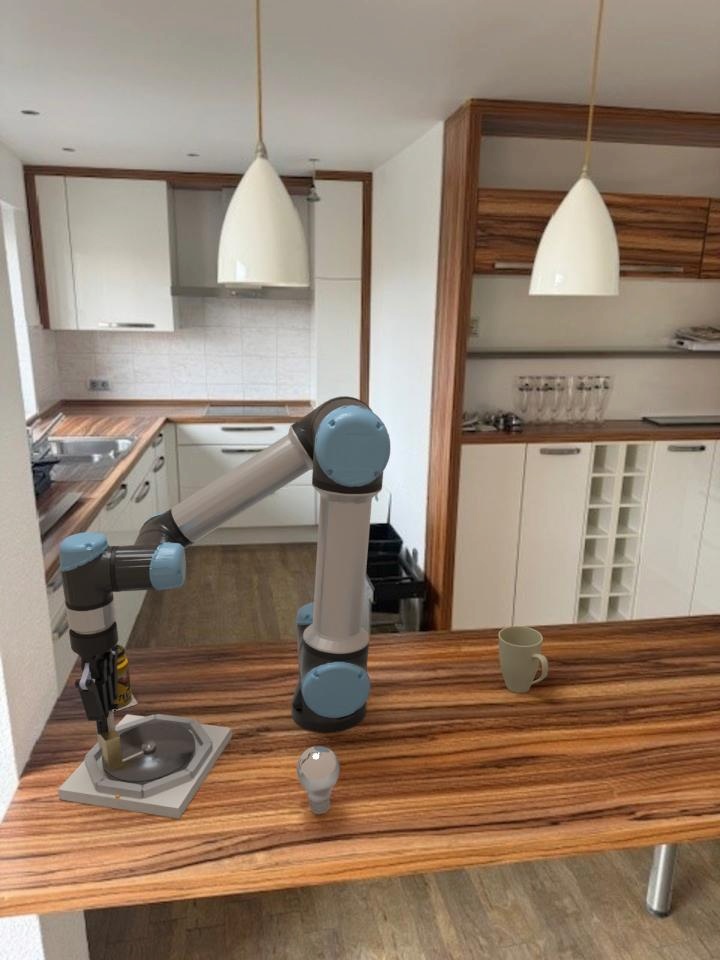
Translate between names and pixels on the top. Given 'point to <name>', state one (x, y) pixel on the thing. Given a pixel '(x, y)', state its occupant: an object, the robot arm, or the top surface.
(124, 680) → the condiment
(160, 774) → the dial
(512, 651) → the mug
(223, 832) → the top surface
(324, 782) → the light bulb
